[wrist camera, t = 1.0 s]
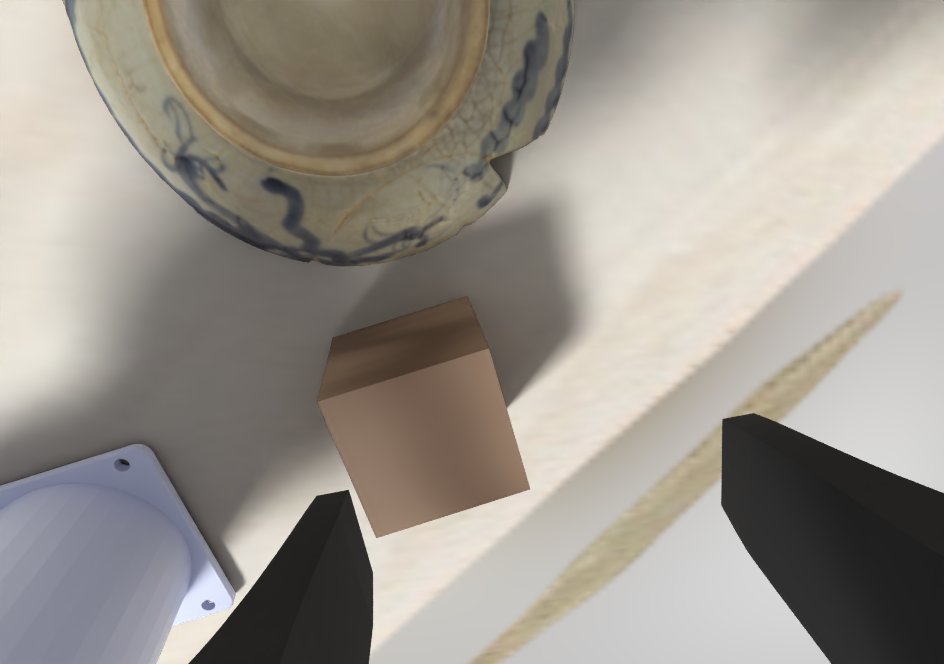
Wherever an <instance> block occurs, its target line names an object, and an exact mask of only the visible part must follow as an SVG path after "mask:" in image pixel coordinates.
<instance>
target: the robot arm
mask: <svg viewBox="0 0 944 664" xmlns="http://www.w3.org/2000/svg"><path fill="white" fill-rule="evenodd" d="M119 459H124V460H127V461H128V462H129V464H130V465H124V464H122V463H121V462H120V461H119ZM721 497H722V498H721V505H722V507H723V509H724V511H725V512H726V514H727V516H728V518H729V520H730V522H731V524H732V525H733V527H734V529H735V531H736V532H737V534H738V536H739V538H740V539H741V541H742V543H743V544H744V546H745V548H746V550H747V551H748V553H749V554H750V555H751V557H752V558H753V560H754V561H755V562H756V564H757V565H758V566H759V568H760V569H761V571H762V572H763V573H764V575H765V576H766V577H767V579H768V580H769V581H770V583H771V584H772V585H773V587H774V588H775V589H776V591H777V592H778V593H779V595H780V596H781V597H782V599H783V600H784V601H785V603H786V604H787V605H788V607H789V608H790V609H791V611H792V612H793V613H794V615H795V616H796V617H797V619H798V620H799V621H800V622H801V624H802V625H803V627H804V628H805V629H806V630H807V632H808V633H809V634H810V636H811V637H812V638H813V640H814V641H815V642H816V644H817V645H818V646H819V648H820V649H821V650H822V652H823V653H824V654H825V656H826V657H827V658H828V659H829V661H830V663H831V664H944V493H942V492H939V491H937V490H934V489H931V488H929V487H926V486H924V485H921V484H919V483H916V482H914V481H911V480H908V479H906V478H903V477H901V476H898V475H896V474H893V473H891V472H888V471H886V470H884V469H881V468H879V467H876V466H874V465H872V464H869V463H867V462H865V461H862V460H860V459H858V458H855V457H853V456H851V455H848V454H846V453H844V452H842V451H840V450H837V449H835V448H833V447H830V446H828V445H826V444H824V443H822V442H819V441H817V440H815V439H813V438H811V437H808V436H806V435H804V434H802V433H800V432H797V431H795V430H793V429H790V428H788V427H786V426H784V425H782V424H779V423H777V422H775V421H772V420H770V419H767V418H765V417H762V416H760V415H757V414H754V413H752V414H747V415H742V416H736V417H731V418H726V419H723V421H722V496H721ZM235 595H236V594H235V591H234V589H233V588H232V586H231V584H230V583H229V581H228V579H227V577H226V576H225V574H224V572H223V571H222V569H221V567H220V565H219V564H218V562H217V560H216V559H215V557H214V555H213V553H212V552H211V550H210V548H209V547H208V545H207V543H206V542H205V540H204V538H203V536H202V535H201V533H200V531H199V530H198V528H197V526H196V524H195V523H194V521H193V519H192V518H191V516H190V514H189V512H188V511H187V509H186V507H185V506H184V504H183V502H182V501H181V499H180V497H179V495H178V494H177V492H176V490H175V489H174V487H173V485H172V483H171V482H170V480H169V478H168V477H167V475H166V473H165V472H164V470H163V468H162V466H161V465H160V463H159V461H158V460H157V458H156V456H155V454H154V453H153V451H152V450H151V449H150V448H149V447H147V446H146V445H143V444H132V445H129V446H126V447H123V448H120V449H116V450H113V451H110V452H107V453H104V454H100V455H97V456H94V457H91V458H88V459H84V460H81V461H78V462H75V463H71V464H68V465H65V466H62V467H59V468H55V469H52V470H49V471H46V472H43V473H39V474H36V475H33V476H30V477H27V478H23V479H20V480H17V481H14V482H11V483H7V484H4V485H1V486H0V664H156V663H157V661H158V658H159V656H160V654H161V651H162V649H163V647H164V644H165V642H166V639H167V637H168V635H169V632H170V630H171V628H172V626H176V625H179V624H182V623H185V622H188V621H191V620H194V619H198V618H201V617H204V616H207V615H210V614H213V613H216V612H220V611H223V610H226V609H228V608H230V607H231V606H232V605H233V602H234V599H235ZM206 600H210V601H213V603H209V602H207V601H206ZM372 629H373V571H372V568H371V565H370V561H369V558H368V554H367V551H366V547H365V544H364V540H363V537H362V534H361V530H360V527H359V523H358V520H357V516H356V513H355V510H354V506H353V503H352V499H351V496H350V492H349V490H345V491H340V492H335V493H330V494H324V495H319V496H316V498H315V499H314V500H313V502H312V503H311V504H310V506H309V507H308V509H307V510H306V511H305V513H304V514H303V516H302V517H301V519H300V520H299V522H298V523H297V525H296V526H295V528H294V529H293V531H292V532H291V534H290V535H289V536H288V538H287V539H286V541H285V542H284V544H283V545H282V547H281V548H280V549H279V551H278V552H277V554H276V555H275V557H274V558H273V559H272V561H271V562H270V563H269V565H268V566H267V568H266V569H265V570H264V572H263V573H262V575H261V576H260V577H259V579H258V580H257V581H256V583H255V584H254V586H253V587H252V588H251V590H250V591H249V592H248V593H247V595H246V596H245V597H244V599H243V600H242V601H241V602H240V604H239V605H238V606H237V607H236V609H235V610H234V611H233V612H232V614H231V615H230V616H229V617H228V619H227V620H226V621H225V623H224V624H223V625H222V626H221V628H220V629H219V630H218V631H217V632H216V633H215V635H214V636H213V637H212V638H211V639H210V640H209V642H208V643H207V644H206V645H205V646H204V647H203V648H202V650H201V651H200V652H199V653H198V654H197V655H196V656H195V657H194V658H193V659H192V660H191V662H190V663H189V664H369V656H370V647H371V638H372Z"/></svg>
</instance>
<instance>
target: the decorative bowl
mask: <svg viewBox="0 0 944 664" xmlns="http://www.w3.org/2000/svg"><path fill="white" fill-rule="evenodd" d="M62 1H63V3H64V5H65V7H66V12H67V15H68V17H69V20H70V23H71V26H72V29H73V33H74V36H75V39H76V42H77V45H78V48H79V50H80V53H81V55H82V58H83V60H84V62H85V65H86V67H87V69H88V72H89V73H90V75H91V77H92V79H93V81H94V84H95V86H96V88H97V90H98V92H99V94H100V96H101V97H102V99H103V101H104V102H105V104H106V106H107V107H108V109H109V111H110V113H111V114H112V116H113V117H114V119H115V120H116V122H117V124H118V125H119V127H120V128H121V130H122V131H123V132H124V134H125V135H126V137H127V138H128V139H129V141H130V142H131V144H132V145H133V146H134V147H135V149H136V150H137V151H138V152H139V154H140V155H141V156H142V157H143V158H144V159H145V161H146V162H147V163H148V164H149V165H150V166H151V167H152V168H153V169H154V171H155V172H156V173H157V174H158V175H159V176H160V177H161V178H162V179H163V180H164V181H165V182H166V183H167V184H168V185H169V186H170V187H171V188H172V189H173V190H174V191H175V192H176V193H178V194H179V195H180V196H181V197H182V198H183V199H184V200H185V201H186V202H187V203H188V204H189V205H191V206H192V207H193V208H194V209H195V210H196V211H197V213H199V214H201V216H203V217H204V218H205V219H206V220H208V221H210V222H211V223H213V224H214V225H216V226H217V227H219V228H221V229H222V230H224V231H225V232H227V233H229V234H231V235H233V236H234V237H236V238H238V239H240V240H242V241H244V242H246V243H248V244H250V245H253V246H255V247H257V248H260V249H262V250H265V251H268V252H271V253H274V254H277V255H280V256H283V257H287V258H290V259H294V260H298V261H302V262H309V261H310V260H317V261H319V262H321V263H323V264H327V265H335V266H362V265H371V264H378V263H384V262H389V261H392V260H396V259H400V258H404V257H407V256H409V255H413V254H416V253H419V252H421V251H424V250H427V249H429V248H431V247H434V246H436V245H438V244H440V243H442V242H444V241H445V240H448V239H449V238H451V237H453V236H454V235H456V234H457V233H458V232H459V231H460V229H461V228H462V227H463V226H466V225H469V224H472V223H473V222H475V221H476V220H477V219H479V218H480V217H481V216H482V215H483V214H485V213H486V212H487V211H488V210H489V209H490V208H491V207H492V206H493V205H494V204H495V203H496V202H497V201H498V200H499V199H500V198H501V197H502V196H503V195H504V194H505V193H506V191H507V187H506V185H505V184H504V182H503V181H502V179H501V178H500V176H499V175H498V173H497V172H496V171H495V170H494V169H493V167H492V166H491V164H490V161H491V160H492V159H494V158H497V157H499V156H502V155H505V154H507V153H509V152H512V151H515V150H518V149H520V148H523V147H524V146H526V145H528V144H529V143H530V142H532V141H533V140H535V139H537V138H538V137H539V136H541V135H543V134H544V133H545V132H546V130H547V129H548V127H549V124H550V121H551V119H552V117H553V114H554V112H555V109H556V106H557V103H558V101H559V98H560V95H561V91H562V88H563V84H564V80H565V76H566V72H567V68H568V63H569V58H570V52H571V45H572V38H573V26H574V0H62Z"/></svg>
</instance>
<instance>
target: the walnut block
mask: <svg viewBox="0 0 944 664" xmlns="http://www.w3.org/2000/svg"><path fill="white" fill-rule="evenodd" d="M317 403H318V405H319V408H320V410H321V412H322V415H323V417H324V419H325V422H326V424H327V426H328V428H329V431H330V433H331V435H332V438H333V440H334V442H335V444H336V447H337V449H338V451H339V454H340V456H341V458H342V461H343V463H344V465H345V467H346V470H347V472H348V474H349V477H350V479H351V481H352V483H353V486H354V488H355V490H356V493H357V495H358V497H359V499H360V502H361V504H362V506H363V509H364V511H365V513H366V516H367V518H368V520H369V522H370V525H371V527H372V529H373V532H374V534H375V536H376V538H378V537H381V536H385V535H388V534H391V533H394V532H397V531H400V530H404V529H407V528H410V527H413V526H416V525H419V524H422V523H426V522H429V521H432V520H435V519H438V518H441V517H444V516H448V515H451V514H454V513H457V512H460V511H463V510H466V509H470V508H473V507H476V506H479V505H482V504H485V503H489V502H492V501H495V500H498V499H501V498H504V497H507V496H511V495H514V494H517V493H520V492H523V491H526V490H529V489H530V487H529V483H528V480H527V476H526V473H525V470H524V466H523V463H522V459H521V456H520V452H519V449H518V446H517V442H516V439H515V435H514V432H513V429H512V425H511V422H510V418H509V415H508V412H507V408H506V405H505V401H504V398H503V394H502V391H501V388H500V384H499V381H498V377H497V374H496V371H495V367H494V364H493V360H492V357H491V353H490V350H489V347H488V345H487V342H486V340H485V338H484V335H483V333H482V330H481V328H480V325H479V323H478V321H477V318H476V316H475V313H474V311H473V309H472V306H471V304H470V301H469V299H468V296H466V297H463V298H460V299H457V300H454V301H450V302H447V303H444V304H441V305H437V306H434V307H431V308H428V309H424V310H421V311H418V312H415V313H411V314H408V315H405V316H402V317H399V318H395V319H392V320H389V321H386V322H382V323H379V324H376V325H373V326H369V327H366V328H363V329H360V330H356V331H353V332H350V333H347V334H343V335H340V336H337V337H334V338H333V340H332V344H331V348H330V352H329V356H328V360H327V364H326V368H325V372H324V376H323V380H322V384H321V388H320V392H319V396H318V400H317Z"/></svg>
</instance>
